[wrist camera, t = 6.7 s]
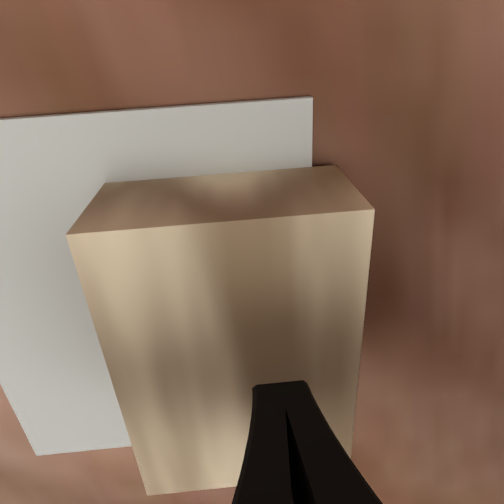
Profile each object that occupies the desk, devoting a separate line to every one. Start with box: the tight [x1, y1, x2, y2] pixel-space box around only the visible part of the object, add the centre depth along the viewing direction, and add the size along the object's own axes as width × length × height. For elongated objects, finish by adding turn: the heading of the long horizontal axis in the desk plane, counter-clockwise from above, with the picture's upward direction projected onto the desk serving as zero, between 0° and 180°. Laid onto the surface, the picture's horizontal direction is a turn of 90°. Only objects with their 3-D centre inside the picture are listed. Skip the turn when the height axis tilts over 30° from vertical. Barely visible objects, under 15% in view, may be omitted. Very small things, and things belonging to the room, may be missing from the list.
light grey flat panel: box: [0, 96, 313, 456], centre depth 15 cm, size 12×14×1 cm
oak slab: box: [66, 165, 375, 496], centre depth 13 cm, size 4×10×7 cm
